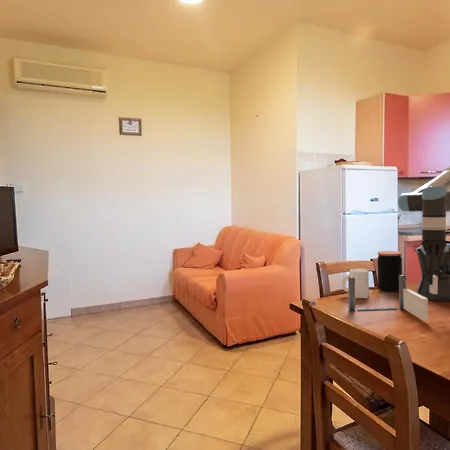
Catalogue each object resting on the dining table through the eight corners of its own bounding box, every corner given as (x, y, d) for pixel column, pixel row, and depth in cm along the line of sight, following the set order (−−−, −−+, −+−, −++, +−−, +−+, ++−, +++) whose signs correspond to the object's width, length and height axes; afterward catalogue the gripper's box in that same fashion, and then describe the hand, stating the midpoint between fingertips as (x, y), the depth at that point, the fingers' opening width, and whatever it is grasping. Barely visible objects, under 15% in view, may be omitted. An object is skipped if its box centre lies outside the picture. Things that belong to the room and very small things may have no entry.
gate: (403, 308, 145) (403, 288, 144) (407, 308, 145) (407, 288, 144) (422, 320, 130) (422, 299, 129) (428, 320, 130) (427, 298, 129)
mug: (340, 293, 174) (339, 268, 173) (367, 294, 171) (366, 268, 171) (342, 298, 166) (341, 272, 165) (370, 298, 163) (369, 272, 163)
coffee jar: (404, 292, 172) (404, 253, 171) (380, 292, 174) (379, 254, 173) (398, 287, 182) (398, 250, 181) (375, 286, 184) (375, 250, 183)
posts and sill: (404, 307, 149) (404, 274, 148) (407, 309, 146) (407, 275, 145) (347, 309, 149) (346, 276, 148) (349, 311, 147) (348, 277, 146)
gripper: (446, 227, 138) (445, 290, 139) (410, 228, 138) (410, 291, 139) (458, 229, 130) (457, 295, 132) (420, 230, 131) (420, 296, 132)
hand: (433, 293), depth 135 cm, fingers closed
